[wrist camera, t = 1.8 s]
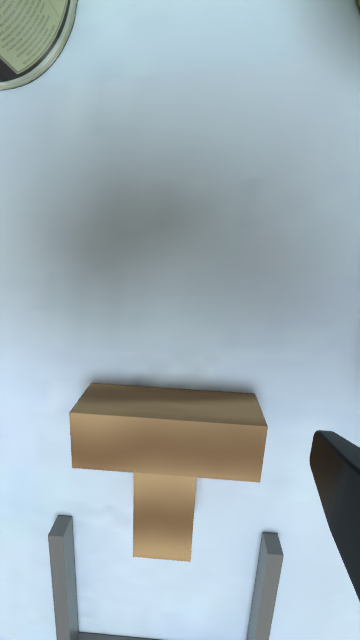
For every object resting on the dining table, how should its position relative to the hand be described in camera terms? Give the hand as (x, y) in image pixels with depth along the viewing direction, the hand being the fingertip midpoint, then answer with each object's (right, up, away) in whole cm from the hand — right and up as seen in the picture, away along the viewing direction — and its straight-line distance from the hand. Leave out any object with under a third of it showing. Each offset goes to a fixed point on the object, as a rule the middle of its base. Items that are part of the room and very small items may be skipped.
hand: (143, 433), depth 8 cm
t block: (0, -7, +15) cm, 17 cm away
